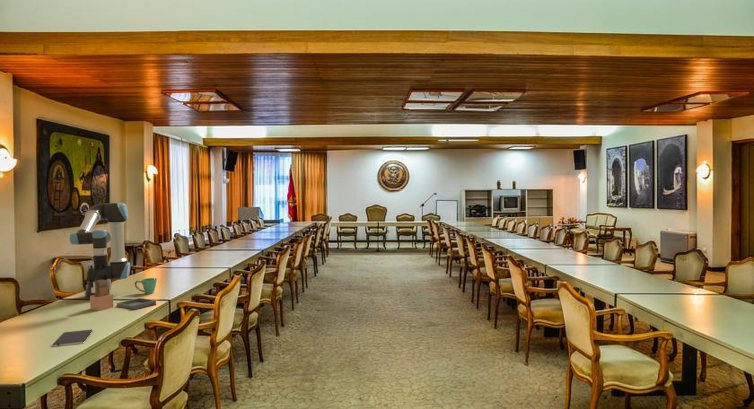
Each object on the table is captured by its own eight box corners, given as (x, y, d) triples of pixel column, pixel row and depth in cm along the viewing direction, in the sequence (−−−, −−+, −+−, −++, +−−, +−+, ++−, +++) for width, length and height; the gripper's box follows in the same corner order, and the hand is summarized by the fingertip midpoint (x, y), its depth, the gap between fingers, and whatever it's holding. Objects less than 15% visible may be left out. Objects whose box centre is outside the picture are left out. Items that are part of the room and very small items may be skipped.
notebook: (83, 344, 234) (92, 332, 254) (82, 341, 234) (92, 329, 254) (52, 347, 229) (64, 335, 249) (52, 344, 229) (64, 332, 249)
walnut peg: (95, 308, 299) (94, 281, 299) (103, 306, 304) (102, 279, 303) (100, 309, 297) (99, 281, 296) (108, 307, 301) (107, 280, 301)
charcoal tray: (116, 307, 304) (116, 303, 304) (140, 302, 318) (139, 297, 318) (132, 310, 297) (132, 305, 296) (156, 305, 311) (155, 300, 310)
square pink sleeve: (90, 310, 298) (89, 295, 298) (104, 307, 306) (104, 293, 306) (99, 312, 294) (98, 297, 294) (113, 308, 302) (113, 294, 302)
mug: (158, 291, 353) (158, 277, 352) (155, 294, 343) (154, 280, 343) (137, 292, 350) (136, 278, 350) (132, 295, 340) (132, 281, 340)
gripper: (85, 257, 288) (86, 295, 288) (120, 252, 307) (122, 288, 308) (78, 256, 291) (79, 294, 292) (113, 252, 311) (114, 287, 311)
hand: (101, 291), depth 300 cm, fingers open, 9 cm apart
